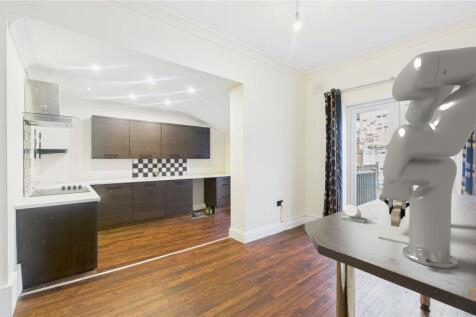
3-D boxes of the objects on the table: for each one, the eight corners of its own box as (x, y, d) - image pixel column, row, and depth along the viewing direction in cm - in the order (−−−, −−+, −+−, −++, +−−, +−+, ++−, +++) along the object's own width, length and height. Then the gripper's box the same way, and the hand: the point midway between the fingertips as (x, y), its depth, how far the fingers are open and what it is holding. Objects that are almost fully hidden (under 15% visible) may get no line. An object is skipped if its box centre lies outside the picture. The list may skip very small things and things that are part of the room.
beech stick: (398, 227, 84) (398, 214, 84) (391, 225, 86) (390, 213, 85) (404, 210, 97) (404, 200, 97) (397, 209, 99) (397, 199, 98)
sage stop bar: (363, 223, 101) (363, 220, 101) (340, 218, 108) (340, 216, 108) (364, 222, 102) (364, 219, 102) (342, 218, 109) (342, 215, 109)
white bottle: (361, 222, 110) (364, 211, 111) (356, 217, 102) (359, 206, 103) (348, 218, 114) (351, 208, 115) (342, 213, 106) (345, 202, 107)
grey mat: (408, 244, 77) (408, 242, 77) (378, 238, 83) (378, 236, 83) (414, 226, 96) (414, 225, 96) (389, 222, 102) (389, 220, 102)
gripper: (424, 172, 86) (423, 219, 87) (376, 170, 97) (375, 211, 98) (423, 174, 81) (422, 224, 81) (372, 171, 91) (372, 215, 92)
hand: (397, 216), depth 89 cm, fingers closed on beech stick, 2 cm apart
